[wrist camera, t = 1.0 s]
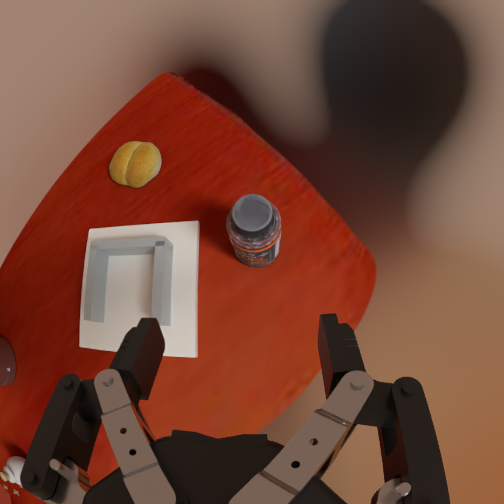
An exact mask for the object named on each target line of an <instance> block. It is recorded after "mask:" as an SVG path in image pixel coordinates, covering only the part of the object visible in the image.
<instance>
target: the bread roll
mask: <svg viewBox="0 0 504 504" xmlns="http://www.w3.org/2000/svg"><path fill="white" fill-rule="evenodd" d="M160 167H161V154H160V152H159V150H158V148H157V147H156V146H155V145H154V144H152V143H149V142H138V141H133V142H128V143H126V144H124V145H122V146H121V147H120V148H119V149H118V150H117V151H116V153H115V154H114V156H113V158H112V161H111V162H110V166H109V170H110V175H111V178H112V179H113V180H114V181H115V182H117V183H118V184H122V185H128V186H131V187H135V188H139V187H142V186H143V185H145V184H146V183H147V182H149V181H150V180H151V179H152V178H154V177H155V176H156V175H157V174H158V172H159V170H160Z"/></svg>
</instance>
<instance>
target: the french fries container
mask: <svg viewBox="0 0 504 504" xmlns="http://www.w3.org/2000/svg"><path fill="white" fill-rule="evenodd" d="M0 504H11V496H10V494H9V493H8V492H7V491H6V490H5V488H4V487H3V486H2V485H1V484H0Z"/></svg>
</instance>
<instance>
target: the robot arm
mask: <svg viewBox="0 0 504 504" xmlns="http://www.w3.org/2000/svg"><path fill="white" fill-rule="evenodd" d="M318 350H319V356H320V362H321V368H322V374H323V381H324V387H325V393H326V402H325V403H324V404H323V406H322V407H321V408H320V409H319V410H318V409H317V410H315V411H314V412H313V413H312V415H311V416H310V417H309V418H308V419H307V421H306V422H305V423H304V425H303V426H302V427H301V428H300V429H299V430H298V432H297V433H296V434H295V435H294V437H293V438H292V439H291V440H290V441H289V442H288V444H287V445H286V446H283V445H281V444H279V443H277V442H273V441H269V440H268V439H267V434H242V435H237V436H232V437H226V438H220V439H217V438H213V437H209V436H206V435H203V434H200V433H197V432H190V431H181V430H173V431H172V435H171V436H167V437H163V438H160V439H156V438H155V436H154V435H153V433H152V431H151V429H150V427H149V425H148V423H147V421H146V419H145V417H144V415H143V413H142V411H141V409H140V407H139V405H138V403H139V400H140V399H141V400H148V398H149V395H150V392H151V389H152V386H153V383H154V380H155V377H156V374H157V371H158V368H159V365H160V362H161V360H162V357H163V354H164V351H165V340H164V337H163V334H162V331H161V328H160V325H159V322H158V320H157V318H146V317H142V318H141V319H140V321H139V323H138V325H137V327H132V328H131V329H130V330H129V331H128V332H127V333H126V335H125V337H124V339H123V342H122V343H121V345H120V348H119V349H118V351H117V353H116V355H115V357H114V359H113V361H112V363H111V365H110V367H109V369H106V370H103V371H101V372H100V373H99V374H98V375H97V376H96V377H95V379H90V380H83V381H81V380H80V378H79V377H78V376H77V375H75V374H67V375H65V376H63V377H62V378H61V379H60V380H59V382H58V384H57V386H56V388H55V390H54V392H53V394H52V396H51V398H50V401H49V403H48V405H47V407H46V410H45V412H44V414H43V416H42V419H41V421H40V423H39V426H38V428H37V431H36V433H35V436H34V438H33V441H32V443H31V446H30V448H29V451H28V454H27V457H26V459H25V462H24V465H23V468H22V471H21V474H20V482H21V484H22V486H23V488H24V489H25V490H27V491H28V492H30V493H32V494H33V495H35V496H36V497H38V498H39V499H41V500H42V501H44V502H46V503H48V504H347V503H346V502H345V501H344V500H342V499H341V498H340V497H339V496H338V495H337V494H336V493H335V492H334V491H333V490H331V489H330V488H329V487H328V486H327V485H326V484H325V483H324V482H323V481H322V480H321V478H322V477H323V476H324V474H325V473H326V472H327V470H328V469H329V468H330V466H331V464H332V463H333V462H334V460H335V459H336V457H337V455H338V454H339V452H340V451H341V449H342V448H343V446H344V444H345V443H346V442H347V440H348V439H349V437H350V436H351V434H352V432H353V431H354V429H355V428H356V426H357V424H361V425H369V426H376V427H377V428H378V435H379V441H380V448H381V456H382V462H383V472H384V480H385V484H384V485H383V486H382V487H381V488H379V489H378V490H377V491H376V492H375V493H374V495H373V496H372V499H371V504H450V499H449V493H448V487H447V481H446V476H445V471H444V467H443V462H442V458H441V453H440V449H439V445H438V441H437V437H436V433H435V429H434V425H433V422H432V418H431V415H430V411H429V408H428V404H427V401H426V398H425V394H424V391H423V388H422V386H421V384H420V383H419V381H417V380H416V379H414V378H411V377H402V378H399V379H398V380H396V381H395V382H394V384H392V383H384V382H378V381H376V380H373V379H372V377H371V376H370V375H369V374H367V373H366V370H365V367H364V364H363V360H362V357H361V354H360V350H359V347H358V344H357V340H356V337H355V334H354V331H353V329H352V328H351V327H350V326H349V325H348V324H347V323H343V324H339V323H338V319H337V315H336V314H335V313H334V314H321V315H320V320H319V332H318ZM15 374H16V362H15V356H14V353H13V350H12V347H11V346H10V344H9V342H8V341H7V340H6V339H4V338H2V337H0V386H6V385H10V384H11V383H12V382H13V380H14V378H15ZM75 414H76V416H75ZM74 416H75V418H74ZM73 419H74V421H73ZM72 422H73V424H72ZM101 422H103V424H104V427H105V430H106V433H107V436H108V438H109V441H110V444H111V446H112V449H113V451H114V454H115V456H116V459H117V461H118V464H119V466H120V467H119V468H117V469H116V470H115V471H113V472H112V473H110V474H109V475H108V476H106V477H105V478H103V479H102V480H101V481H99V482H98V483H96V484H95V485H93V486H91V484H90V477H89V475H88V473H87V469H88V466H89V462H90V458H91V455H92V451H93V448H94V445H95V441H96V438H97V435H98V432H99V428H100V425H101Z"/></svg>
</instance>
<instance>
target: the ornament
mask: <svg viewBox="0 0 504 504" xmlns="http://www.w3.org/2000/svg"><path fill="white" fill-rule="evenodd" d="M24 462H25V459H24V458H22V457H18V456H14V457H11V458H9V459H8V461H7V463H6V467H4V472H0V475H1V477H2V479H3V480H4V481H7V480H9V481H10V482H12V483H15V482H16V483H17V484H19V485H20V487H22V486H21V485H22V484H21V482H20V474H21V471H22V468H23V465H24ZM3 485H4V484H3ZM4 486H5V485H4ZM7 487H8V486H5V487H4V488H6V489H7ZM7 490H8V489H7ZM14 491H15V490H14ZM18 492H19V491H15V492H14V493H17V494H18ZM14 493H13V494H14ZM18 495H19V494H18Z"/></svg>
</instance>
